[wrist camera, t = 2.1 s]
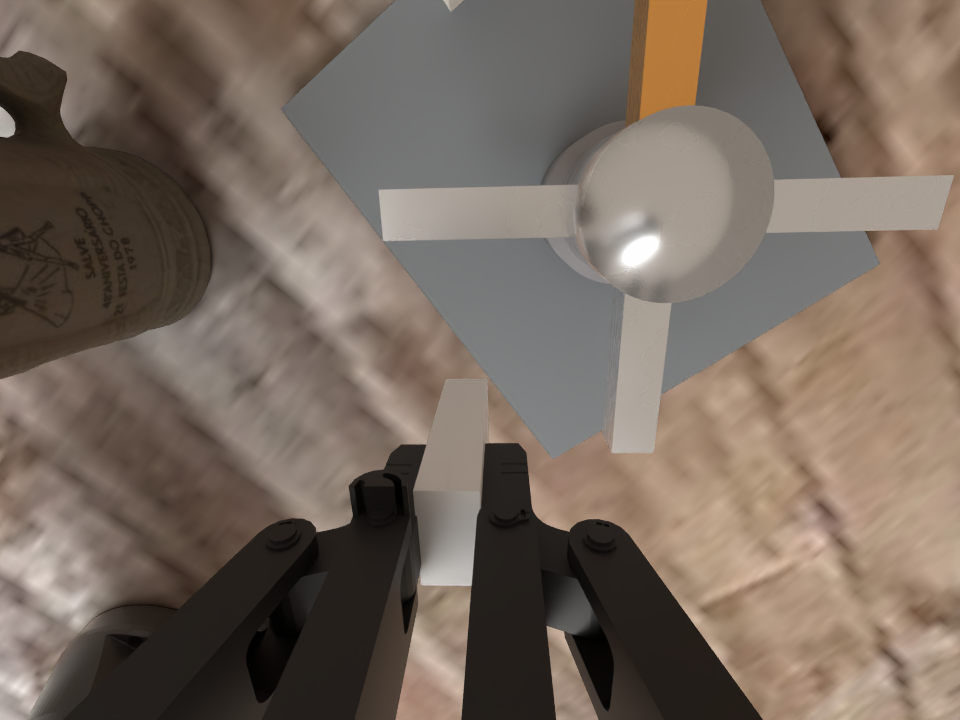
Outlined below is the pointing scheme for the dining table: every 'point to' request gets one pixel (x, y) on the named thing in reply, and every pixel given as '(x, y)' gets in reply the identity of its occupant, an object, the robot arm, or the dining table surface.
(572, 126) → the stand
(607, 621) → the robot arm
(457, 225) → the capstan
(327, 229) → the dining table surface
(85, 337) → the beer stein
